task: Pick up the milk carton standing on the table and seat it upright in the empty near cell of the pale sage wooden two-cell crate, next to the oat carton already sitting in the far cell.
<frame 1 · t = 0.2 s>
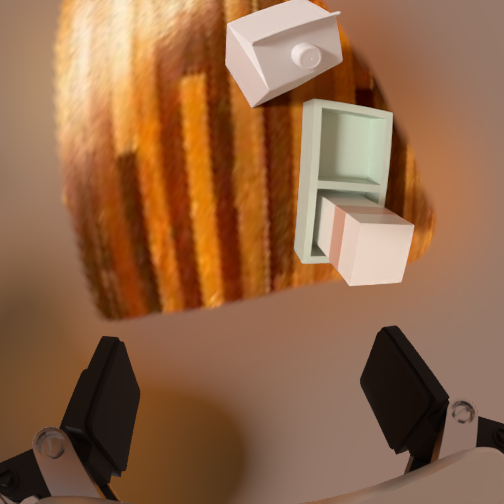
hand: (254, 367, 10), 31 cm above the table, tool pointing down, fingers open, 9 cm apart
milk carton: (262, 74, 32), on the table
oat carton: (335, 215, 39), point 1 cm above the table, touching crate
crate: (336, 180, 38), on the table
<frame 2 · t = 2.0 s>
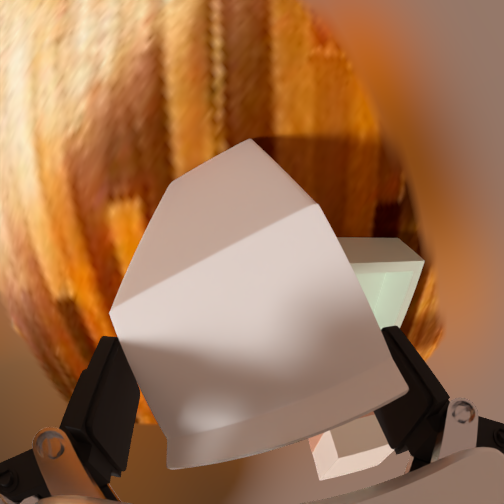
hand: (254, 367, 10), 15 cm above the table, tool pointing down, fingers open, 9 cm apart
milk carton: (231, 196, 23), on the table, touching gripper
oat carton: (324, 360, 31), point 1 cm above the table, touching crate
crate: (330, 325, 30), on the table
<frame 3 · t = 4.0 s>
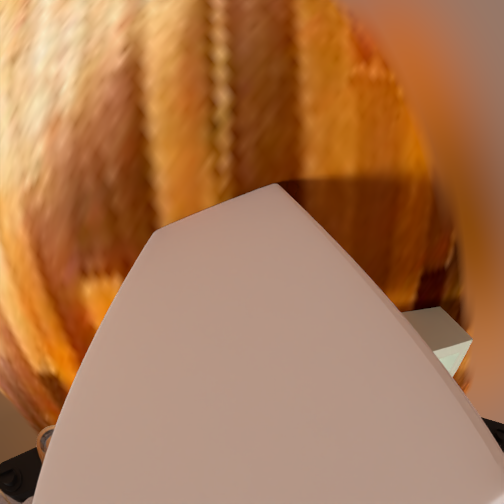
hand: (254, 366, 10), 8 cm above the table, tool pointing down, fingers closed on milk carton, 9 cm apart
milk carton: (237, 260, 16), on the table, touching gripper
crate: (356, 402, 23), on the table
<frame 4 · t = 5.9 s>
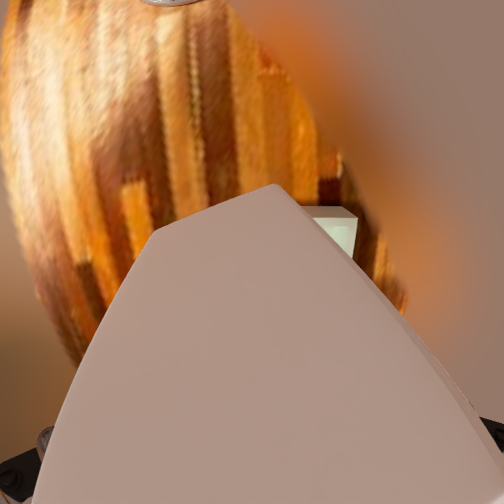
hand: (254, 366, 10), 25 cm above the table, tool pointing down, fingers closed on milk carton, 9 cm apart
milk carton: (236, 260, 16), point 18 cm above the table, touching gripper
crate: (294, 282, 38), on the table
when the fingers open (12 cm above the table, at t = 9.1 s): milk carton stays where it is, resting on crate, oat carton.
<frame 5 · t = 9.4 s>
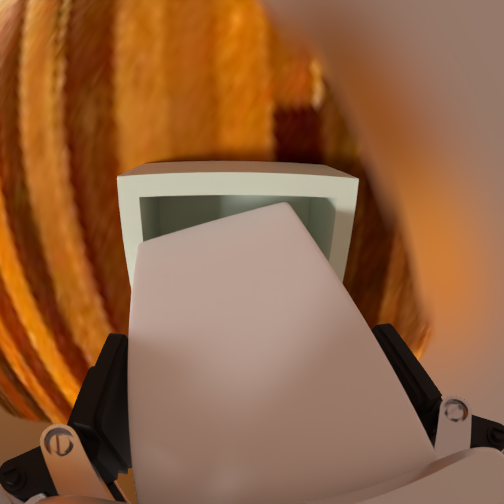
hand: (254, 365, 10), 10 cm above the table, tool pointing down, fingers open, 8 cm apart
milk carton: (227, 272, 15), point 4 cm above the table, touching crate, gripper, oat carton
crate: (233, 310, 20), on the table
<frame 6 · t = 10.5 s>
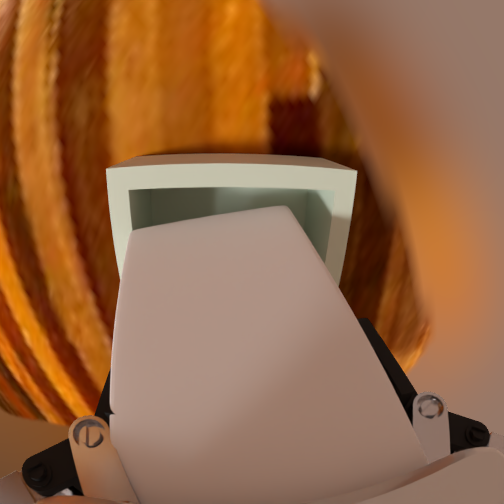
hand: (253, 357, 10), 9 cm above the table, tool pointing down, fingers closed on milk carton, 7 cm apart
milk carton: (216, 270, 15), point 4 cm above the table, touching crate, gripper, oat carton
crate: (228, 308, 20), on the table
when the fingers open (9 cm above the table, at t = 10.7 s): milk carton drops 3 cm, resting on crate.
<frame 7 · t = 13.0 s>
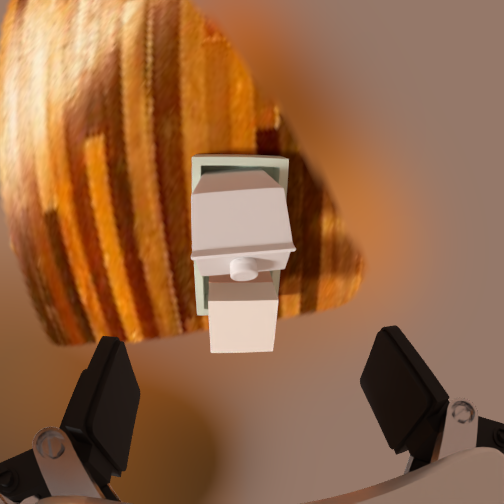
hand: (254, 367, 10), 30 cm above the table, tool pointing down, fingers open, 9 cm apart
milk carton: (233, 195, 37), point 1 cm above the table, touching crate
oat carton: (236, 266, 41), point 1 cm above the table, touching crate
crate: (236, 231, 39), on the table
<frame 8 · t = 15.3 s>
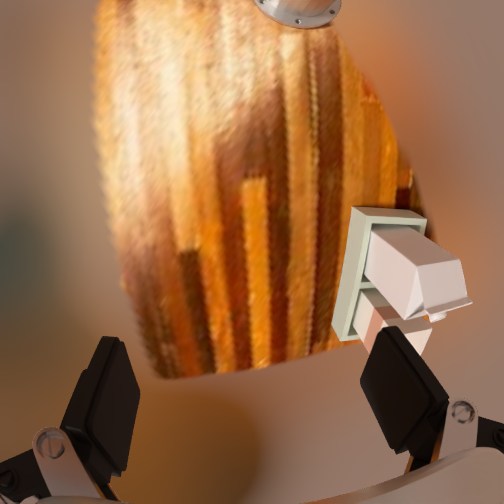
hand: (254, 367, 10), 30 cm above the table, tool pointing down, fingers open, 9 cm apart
milk carton: (376, 241, 42), point 1 cm above the table, touching crate
oat carton: (367, 298, 46), point 1 cm above the table, touching crate
crate: (371, 269, 44), on the table
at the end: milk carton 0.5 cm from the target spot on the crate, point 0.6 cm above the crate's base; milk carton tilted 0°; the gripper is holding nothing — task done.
